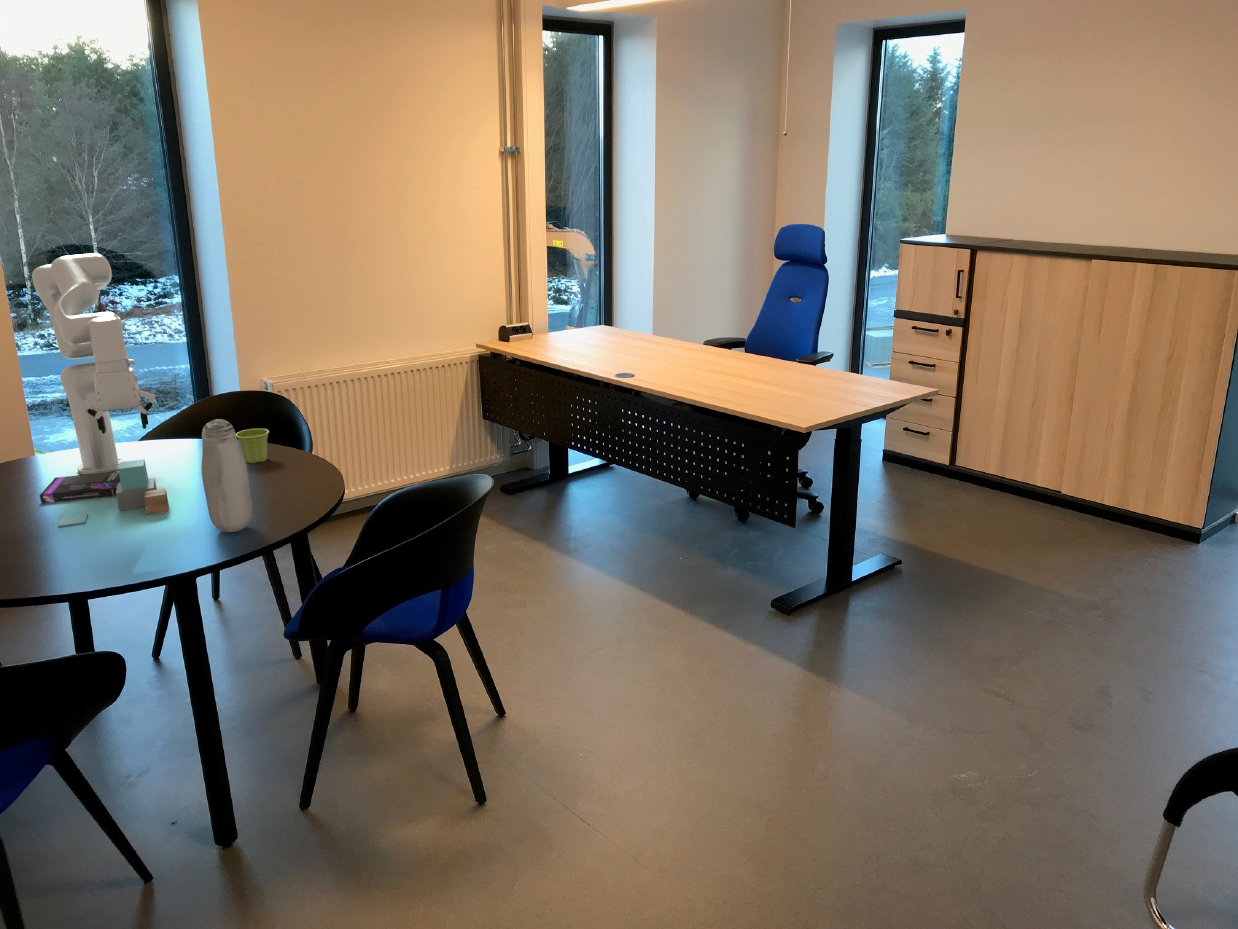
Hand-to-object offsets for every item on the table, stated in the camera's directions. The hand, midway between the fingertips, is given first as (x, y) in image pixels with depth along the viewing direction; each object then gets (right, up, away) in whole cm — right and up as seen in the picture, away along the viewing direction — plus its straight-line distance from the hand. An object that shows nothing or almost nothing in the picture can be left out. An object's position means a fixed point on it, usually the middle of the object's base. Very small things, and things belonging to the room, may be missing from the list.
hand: (124, 429), depth 259 cm
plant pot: (+20, -8, +39) cm, 45 cm away
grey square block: (+1, -19, +6) cm, 20 cm away
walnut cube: (+9, -21, 0) cm, 23 cm away
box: (-19, -17, +17) cm, 30 cm away
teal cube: (+1, -15, +5) cm, 15 cm away
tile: (-10, -24, -6) cm, 26 cm away
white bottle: (+34, -25, -14) cm, 45 cm away
